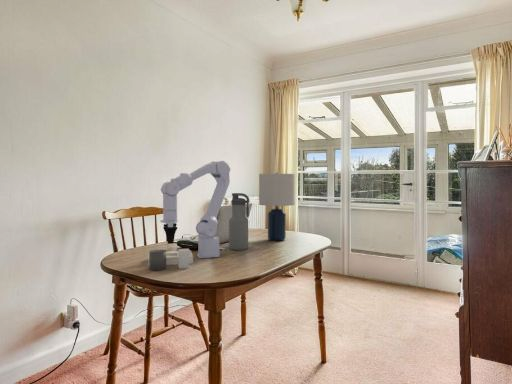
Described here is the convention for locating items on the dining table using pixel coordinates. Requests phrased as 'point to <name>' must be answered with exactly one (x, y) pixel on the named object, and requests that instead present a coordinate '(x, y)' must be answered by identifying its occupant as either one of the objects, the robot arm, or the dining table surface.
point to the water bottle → (239, 223)
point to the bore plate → (174, 258)
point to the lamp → (276, 201)
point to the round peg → (157, 260)
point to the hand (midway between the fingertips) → (170, 241)
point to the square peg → (183, 258)
